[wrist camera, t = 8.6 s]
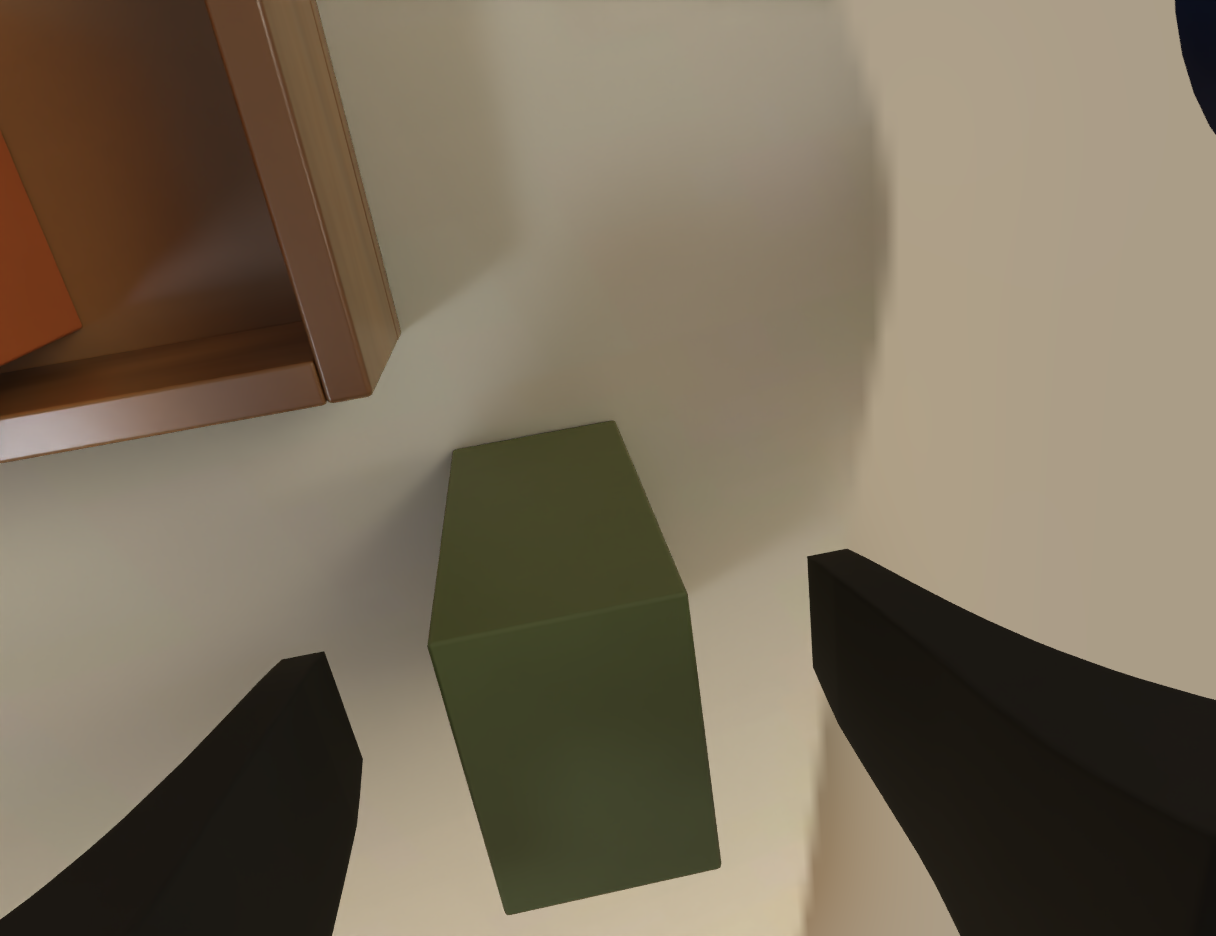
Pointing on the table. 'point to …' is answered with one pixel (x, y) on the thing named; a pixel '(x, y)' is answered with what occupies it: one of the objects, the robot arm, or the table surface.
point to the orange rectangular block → (27, 274)
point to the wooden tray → (187, 219)
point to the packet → (570, 671)
